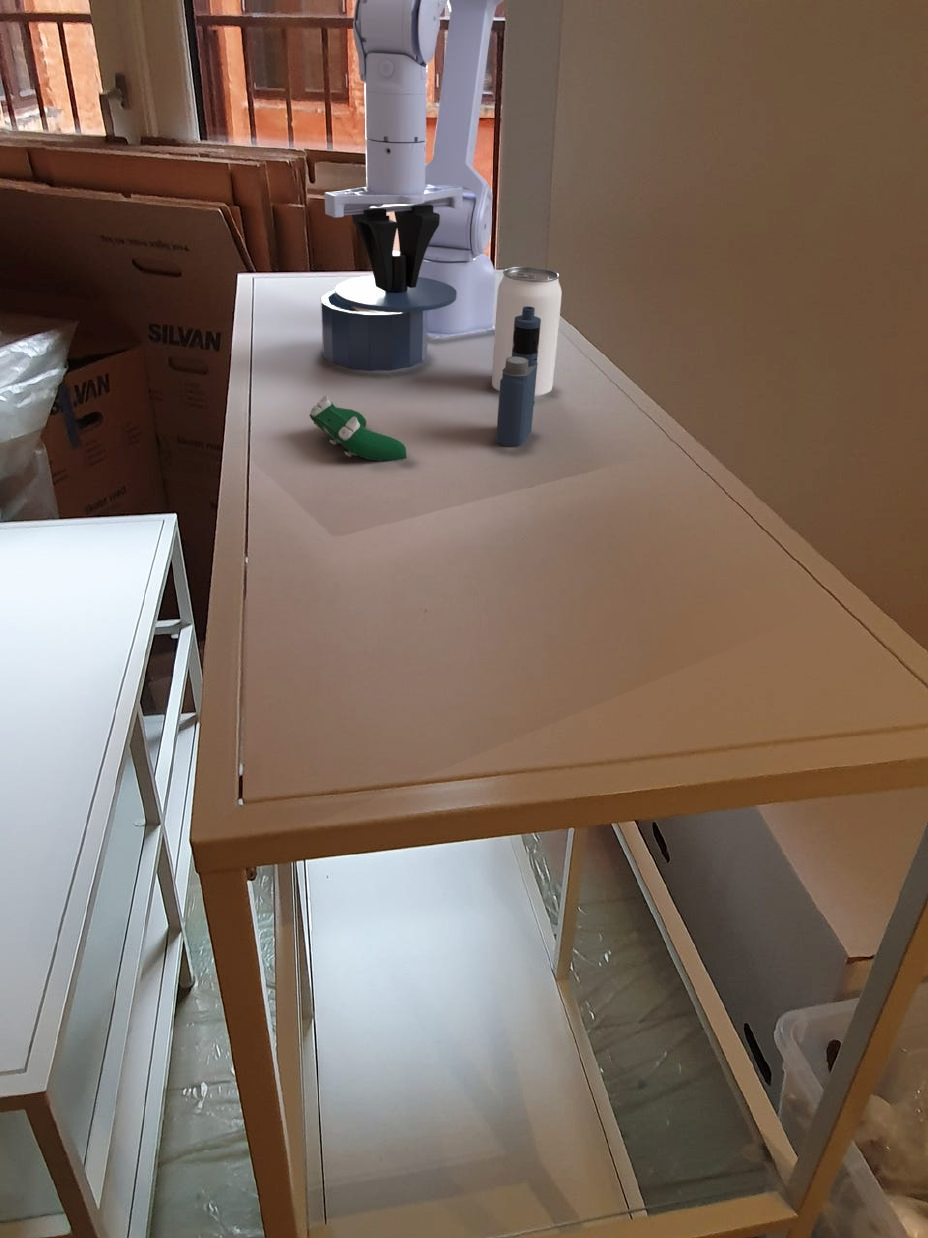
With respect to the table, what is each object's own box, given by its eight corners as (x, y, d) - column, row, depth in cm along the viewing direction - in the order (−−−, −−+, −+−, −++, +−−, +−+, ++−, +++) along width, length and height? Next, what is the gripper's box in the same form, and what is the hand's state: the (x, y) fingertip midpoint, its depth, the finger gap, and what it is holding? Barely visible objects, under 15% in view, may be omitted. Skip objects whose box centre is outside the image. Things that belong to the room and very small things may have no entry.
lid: (416, 280, 102) (417, 235, 100) (479, 309, 94) (482, 261, 91) (314, 292, 96) (311, 245, 94) (372, 324, 88) (371, 273, 85)
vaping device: (534, 434, 87) (546, 306, 81) (519, 454, 83) (530, 321, 76) (508, 429, 88) (518, 302, 81) (492, 449, 84) (501, 317, 77)
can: (547, 404, 94) (559, 283, 88) (486, 396, 95) (493, 277, 88) (555, 383, 99) (567, 268, 93) (496, 377, 100) (504, 262, 94)
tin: (393, 337, 111) (394, 282, 107) (445, 366, 103) (447, 307, 99) (306, 350, 105) (303, 292, 101) (353, 381, 97) (351, 320, 94)
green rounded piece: (339, 449, 87) (295, 415, 82) (364, 417, 86) (321, 381, 82) (387, 487, 80) (342, 451, 76) (414, 452, 80) (370, 415, 76)
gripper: (347, 147, 80) (351, 304, 88) (482, 142, 87) (475, 288, 95) (312, 136, 85) (318, 287, 93) (442, 133, 92) (439, 273, 100)
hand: (395, 286), depth 94 cm, fingers closed on lid, 2 cm apart
